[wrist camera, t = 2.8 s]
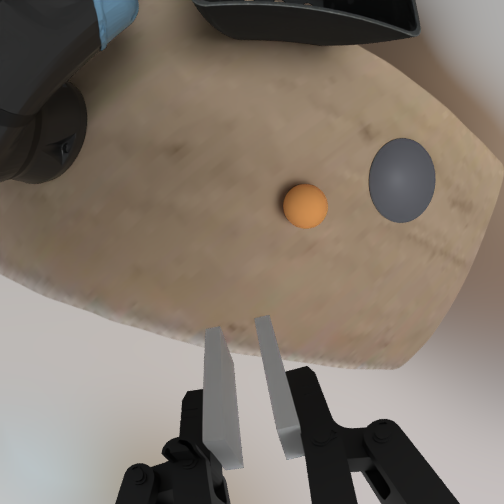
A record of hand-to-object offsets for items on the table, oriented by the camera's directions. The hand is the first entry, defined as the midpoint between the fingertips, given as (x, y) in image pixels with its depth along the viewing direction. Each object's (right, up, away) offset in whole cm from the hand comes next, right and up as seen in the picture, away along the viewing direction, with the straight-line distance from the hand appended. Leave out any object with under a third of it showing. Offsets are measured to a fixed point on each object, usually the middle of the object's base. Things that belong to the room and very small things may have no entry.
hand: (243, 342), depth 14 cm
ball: (+7, +10, +20) cm, 24 cm away
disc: (+23, +15, +23) cm, 36 cm away
